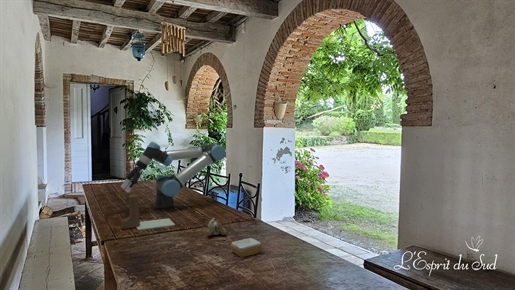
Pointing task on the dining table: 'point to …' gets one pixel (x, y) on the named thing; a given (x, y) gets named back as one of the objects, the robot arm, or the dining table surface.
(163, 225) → the mat
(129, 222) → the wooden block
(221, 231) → the ceramic sculpture
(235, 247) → the soap dish
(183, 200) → the dining table surface
